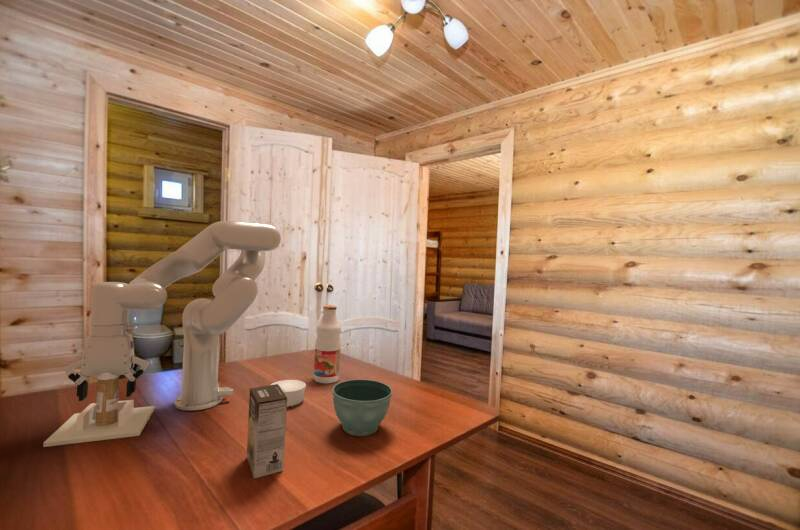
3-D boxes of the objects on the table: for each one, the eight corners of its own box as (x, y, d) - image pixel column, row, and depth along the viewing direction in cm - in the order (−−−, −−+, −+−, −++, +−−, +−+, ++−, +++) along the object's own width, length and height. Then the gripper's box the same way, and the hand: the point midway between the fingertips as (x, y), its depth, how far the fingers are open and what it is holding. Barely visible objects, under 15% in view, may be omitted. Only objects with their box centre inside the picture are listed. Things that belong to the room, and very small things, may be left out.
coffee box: (245, 457, 81) (248, 387, 81) (274, 450, 84) (277, 383, 84) (253, 479, 73) (257, 401, 73) (285, 471, 77) (288, 396, 76)
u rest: (154, 409, 103) (155, 393, 103) (139, 435, 88) (140, 417, 88) (74, 417, 96) (75, 400, 95) (43, 447, 81) (44, 427, 81)
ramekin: (260, 404, 110) (260, 387, 110) (284, 392, 120) (285, 377, 120) (289, 412, 106) (290, 394, 106) (312, 399, 116) (312, 383, 116)
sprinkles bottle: (116, 423, 91) (119, 371, 91) (93, 427, 89) (95, 373, 88) (118, 416, 95) (121, 366, 95) (96, 420, 92) (98, 368, 92)
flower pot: (398, 422, 103) (400, 384, 103) (376, 449, 88) (378, 405, 87) (347, 411, 108) (349, 375, 108) (318, 435, 93) (321, 393, 93)
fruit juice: (344, 380, 136) (347, 306, 135) (324, 386, 128) (328, 308, 128) (327, 374, 142) (331, 303, 141) (308, 379, 134) (312, 305, 134)
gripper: (153, 326, 98) (150, 388, 98) (73, 328, 91) (70, 395, 92) (146, 332, 91) (143, 399, 92) (58, 334, 85) (55, 406, 85)
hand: (106, 396), depth 92 cm, fingers open, 9 cm apart
